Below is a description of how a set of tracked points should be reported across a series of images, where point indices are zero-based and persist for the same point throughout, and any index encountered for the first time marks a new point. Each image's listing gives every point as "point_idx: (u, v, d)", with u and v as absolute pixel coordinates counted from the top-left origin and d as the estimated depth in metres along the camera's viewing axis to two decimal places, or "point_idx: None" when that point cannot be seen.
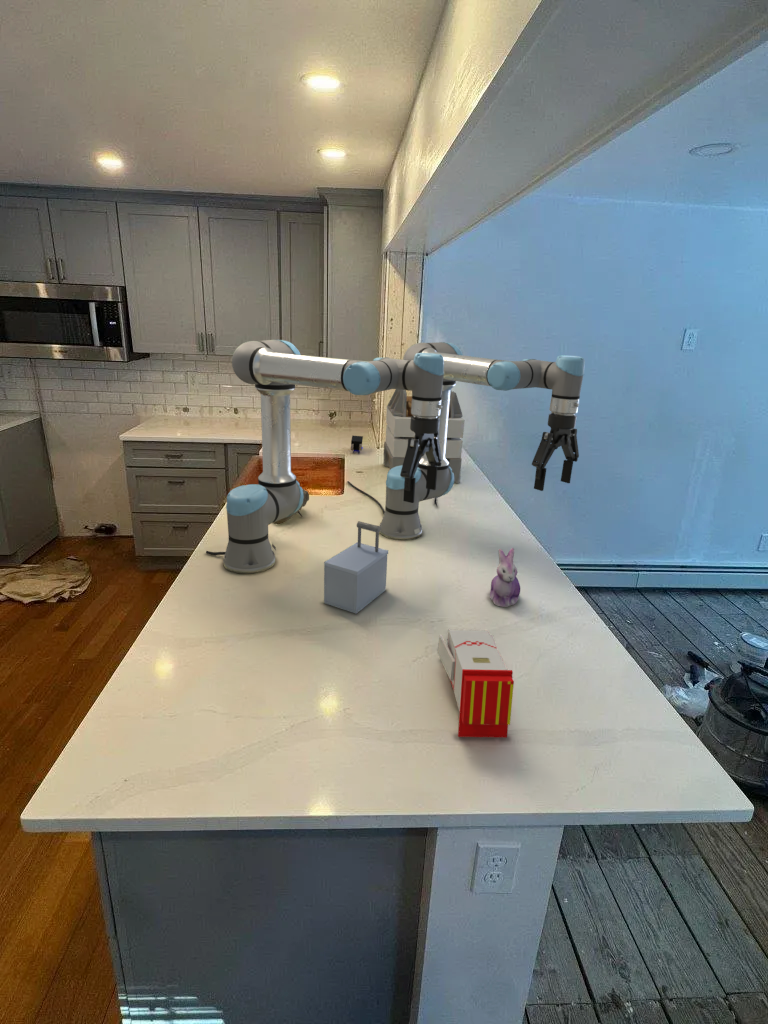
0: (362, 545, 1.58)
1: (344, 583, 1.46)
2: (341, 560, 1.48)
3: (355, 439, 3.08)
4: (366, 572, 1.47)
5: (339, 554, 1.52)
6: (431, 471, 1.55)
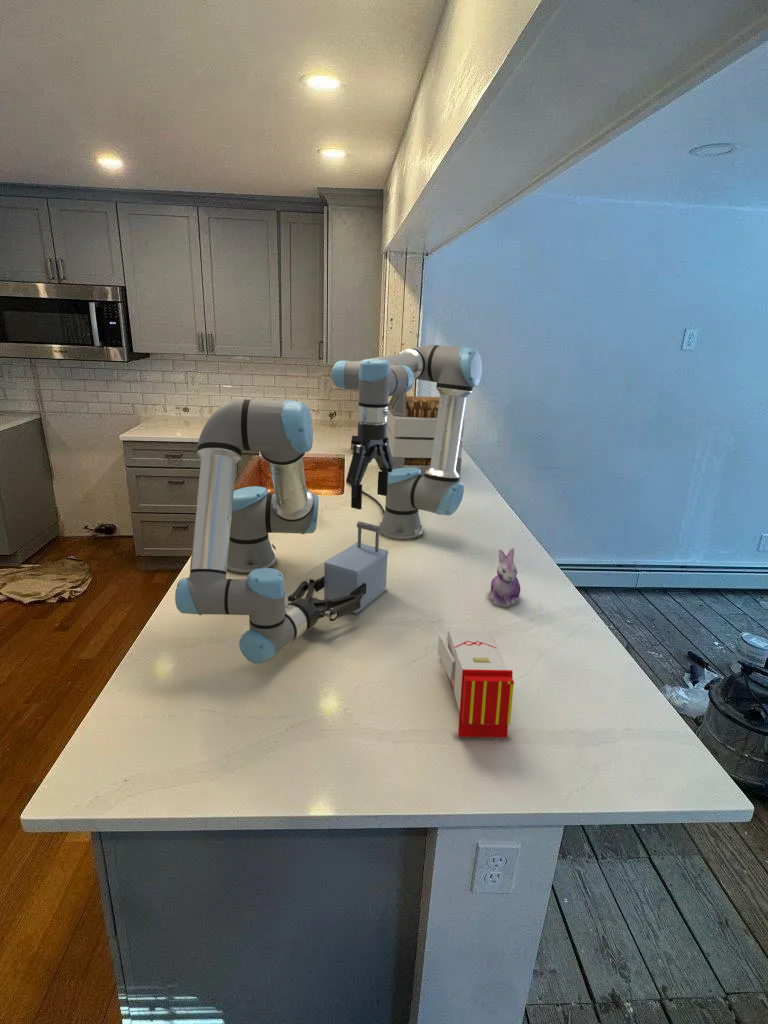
0: (362, 545, 1.58)
1: (344, 583, 1.46)
2: (341, 560, 1.48)
3: (355, 439, 3.08)
4: (366, 572, 1.47)
5: (339, 554, 1.52)
6: None
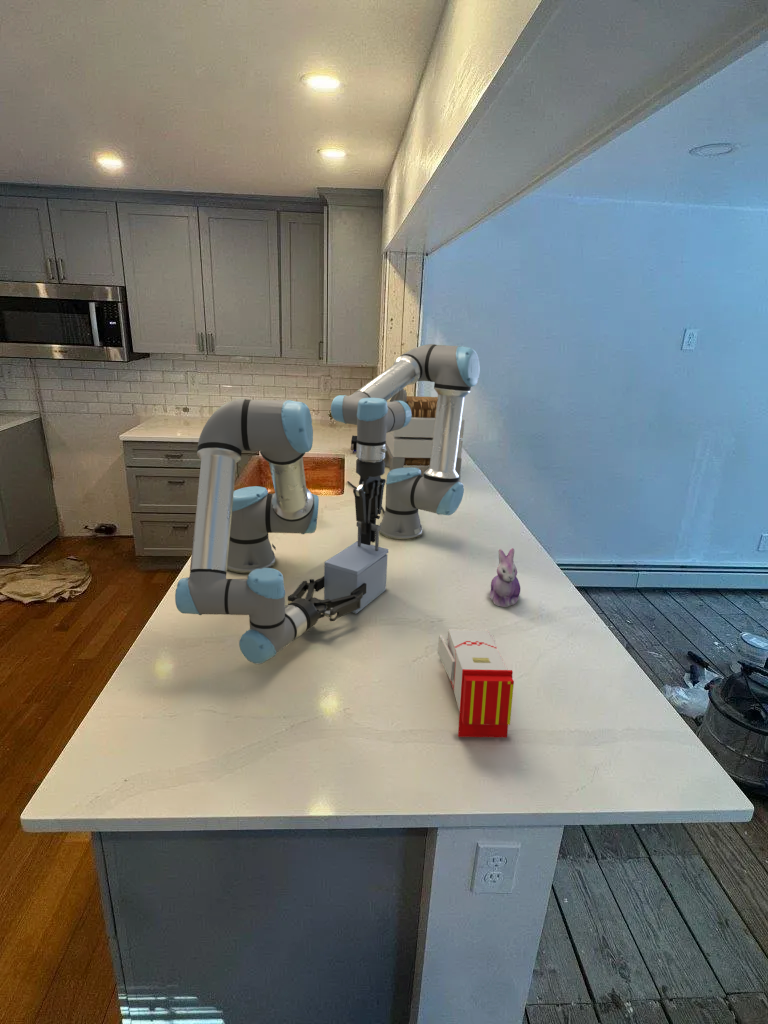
0: (362, 544, 1.58)
1: (344, 583, 1.46)
2: (341, 560, 1.48)
3: (355, 439, 3.08)
4: (366, 571, 1.47)
5: (339, 553, 1.52)
6: None
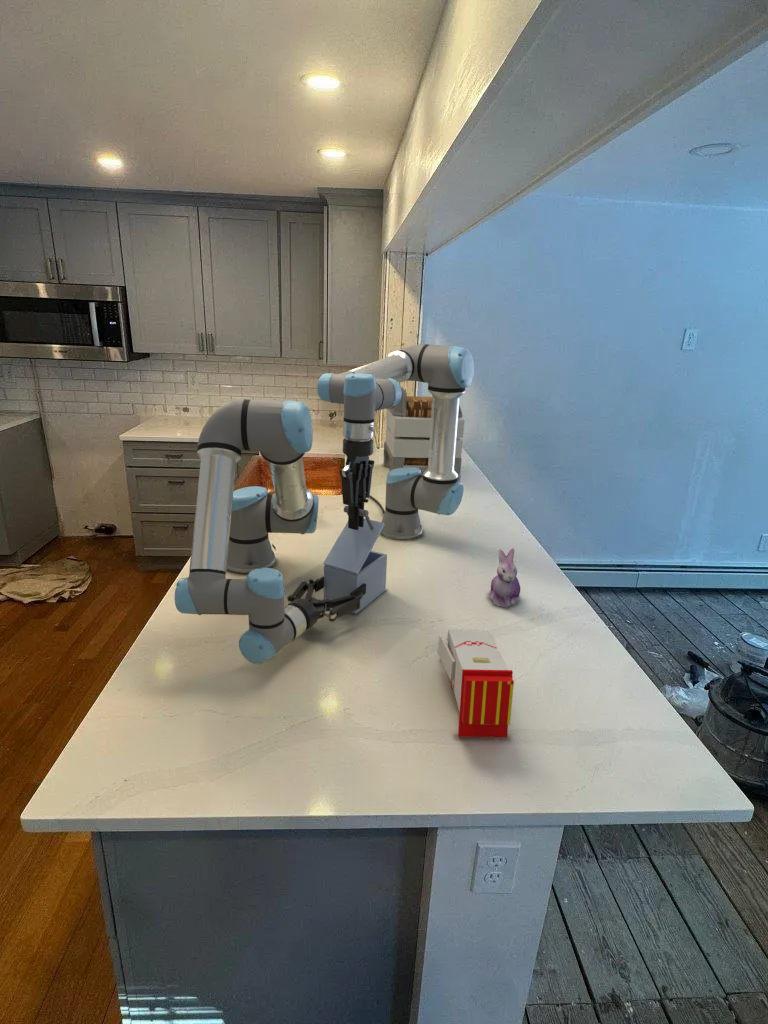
0: None
1: (344, 584, 1.46)
2: (339, 555, 1.47)
3: None
4: (366, 572, 1.47)
5: (336, 544, 1.49)
6: None
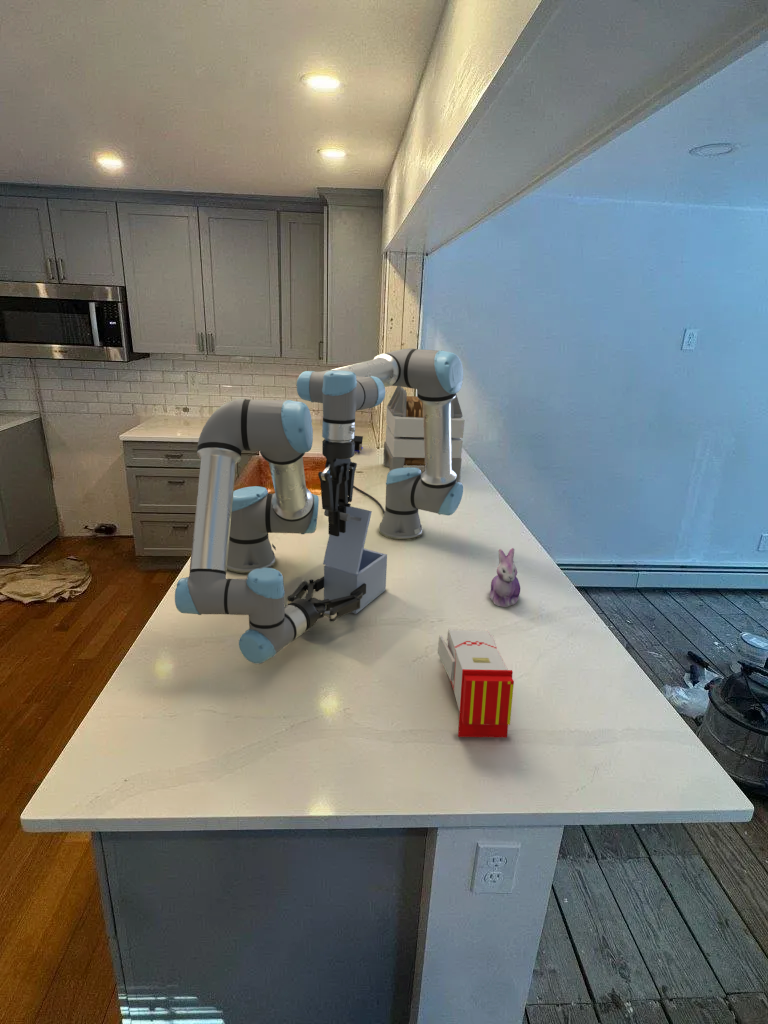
0: None
1: (344, 584, 1.46)
2: (335, 554, 1.45)
3: (355, 439, 3.08)
4: (366, 572, 1.47)
5: (329, 541, 1.46)
6: None
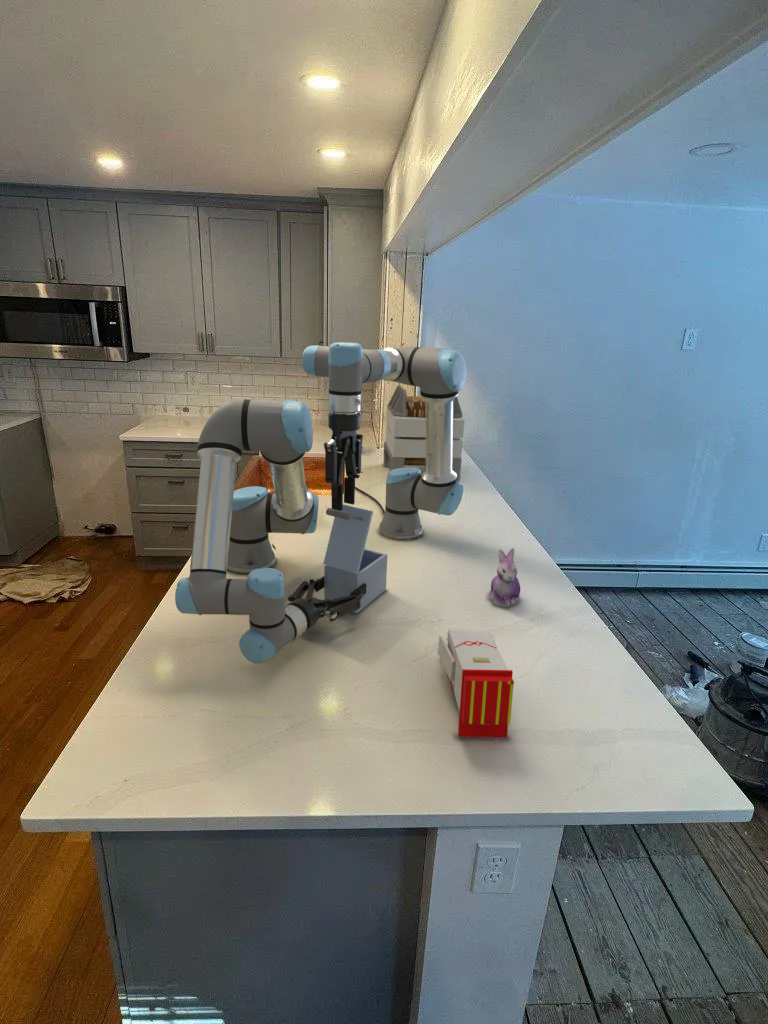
0: (344, 509, 1.46)
1: (344, 584, 1.46)
2: (336, 554, 1.45)
3: None
4: (366, 572, 1.47)
5: (330, 541, 1.47)
6: None
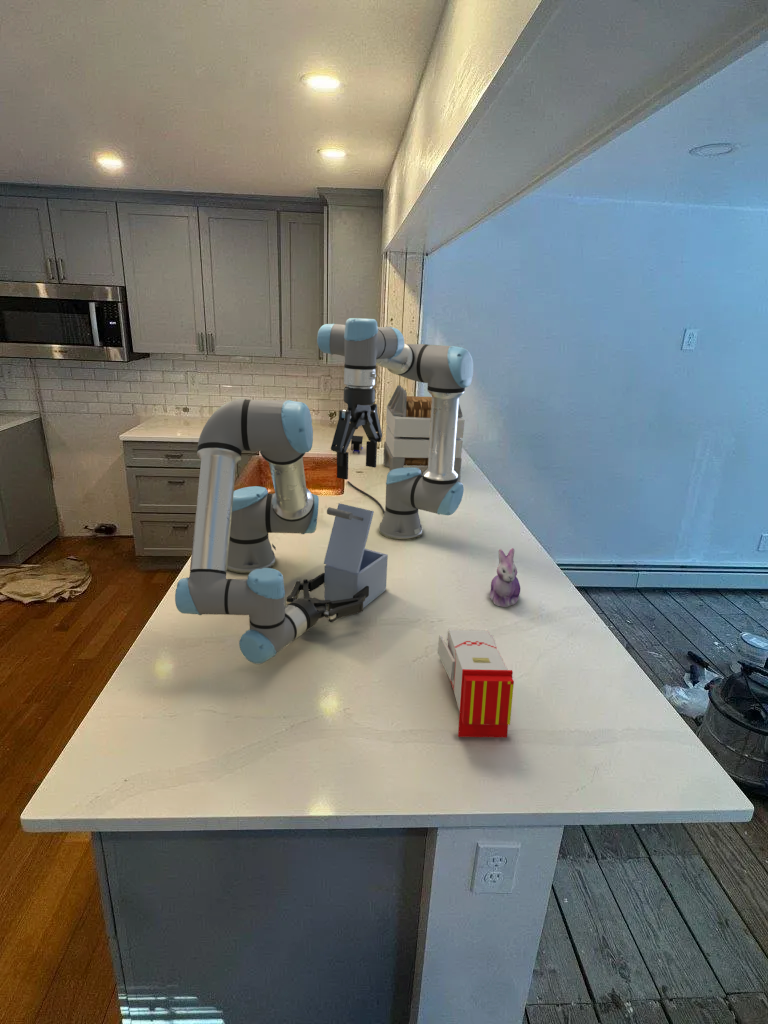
0: (345, 509, 1.46)
1: (344, 583, 1.46)
2: (336, 554, 1.46)
3: (355, 439, 3.08)
4: (366, 572, 1.47)
5: (331, 540, 1.47)
6: None
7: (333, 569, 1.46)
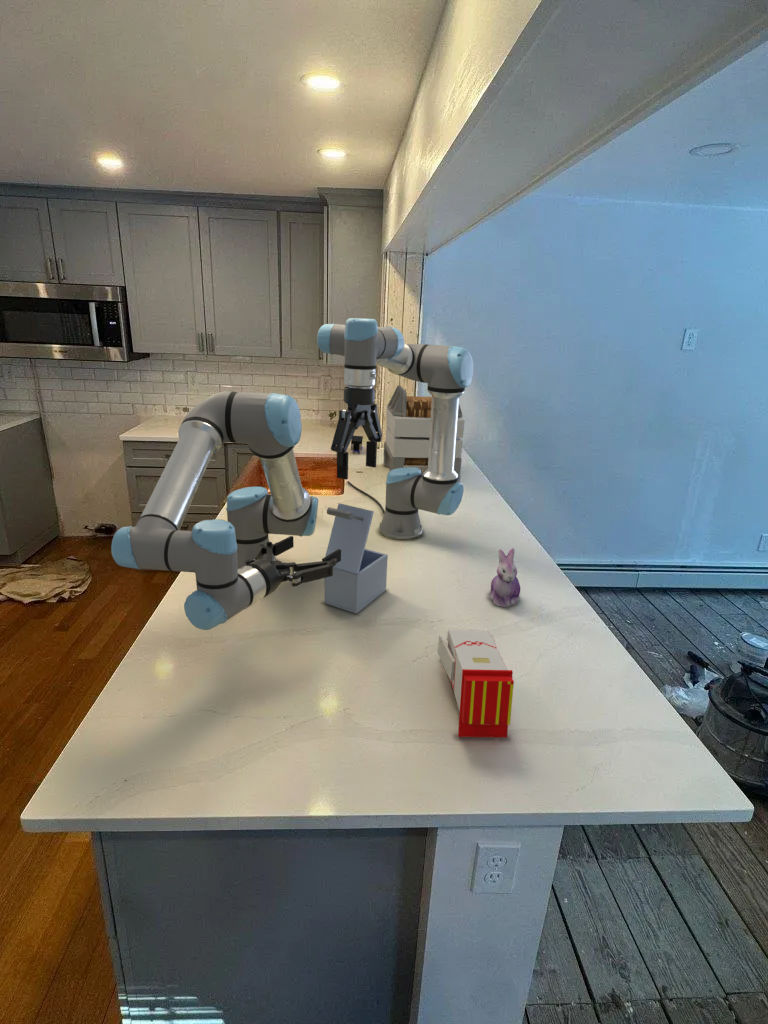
0: (345, 509, 1.46)
1: (344, 583, 1.46)
2: None
3: (355, 439, 3.08)
4: (366, 572, 1.47)
5: (331, 540, 1.47)
6: None
7: (333, 569, 1.46)
